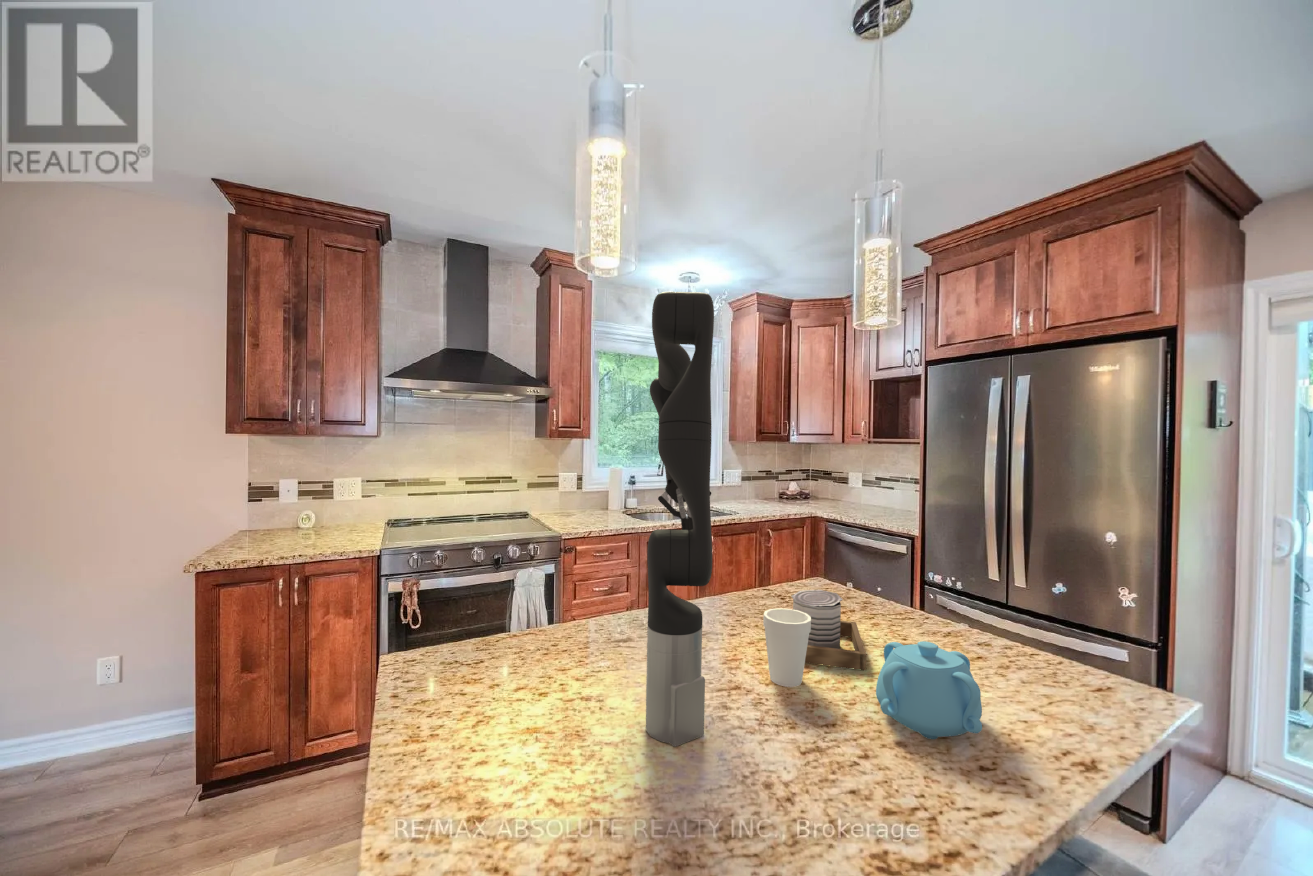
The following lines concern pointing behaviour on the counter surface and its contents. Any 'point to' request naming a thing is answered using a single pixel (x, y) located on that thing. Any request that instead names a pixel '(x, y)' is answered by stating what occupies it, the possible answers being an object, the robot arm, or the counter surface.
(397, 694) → the counter surface
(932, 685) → the decorative pot
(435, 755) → the counter surface
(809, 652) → the tray
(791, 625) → the foam cup
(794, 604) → the can
